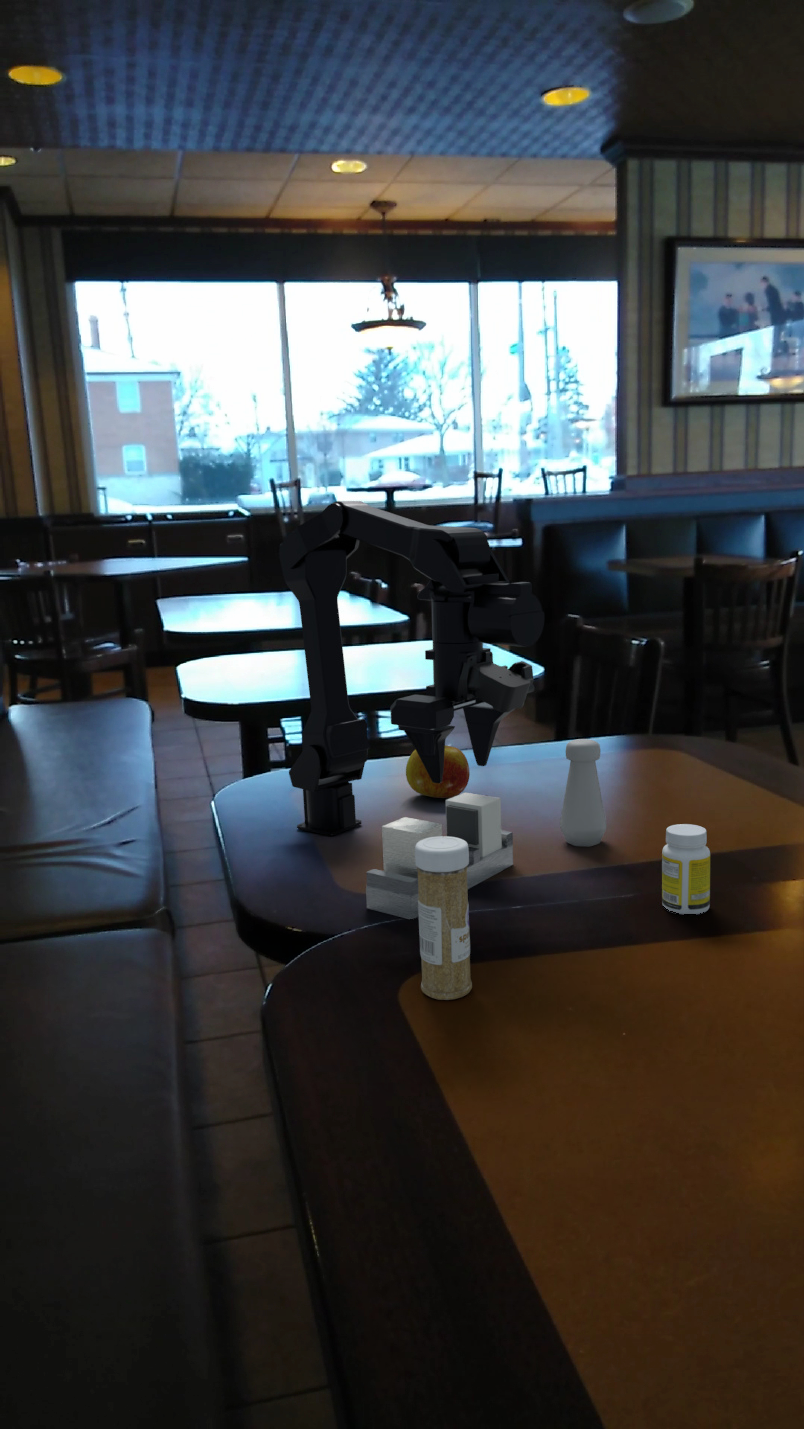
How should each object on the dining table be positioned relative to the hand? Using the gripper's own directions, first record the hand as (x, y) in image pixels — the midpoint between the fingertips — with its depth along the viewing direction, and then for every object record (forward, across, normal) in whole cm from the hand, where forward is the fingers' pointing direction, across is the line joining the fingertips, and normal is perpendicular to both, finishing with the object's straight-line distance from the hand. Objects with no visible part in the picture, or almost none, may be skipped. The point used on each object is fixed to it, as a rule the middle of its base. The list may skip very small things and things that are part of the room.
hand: (460, 774), depth 117 cm
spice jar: (+11, -27, -17) cm, 34 cm away
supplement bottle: (+11, +2, -27) cm, 29 cm away
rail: (+11, -6, -2) cm, 13 cm away
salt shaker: (+11, +16, -8) cm, 21 cm away
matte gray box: (+9, 0, -2) cm, 9 cm away
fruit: (+12, +24, +20) cm, 33 cm away
